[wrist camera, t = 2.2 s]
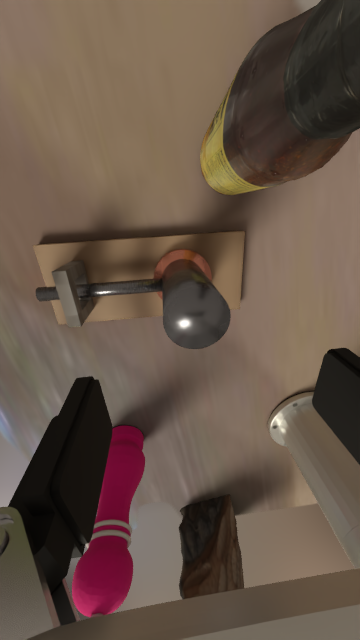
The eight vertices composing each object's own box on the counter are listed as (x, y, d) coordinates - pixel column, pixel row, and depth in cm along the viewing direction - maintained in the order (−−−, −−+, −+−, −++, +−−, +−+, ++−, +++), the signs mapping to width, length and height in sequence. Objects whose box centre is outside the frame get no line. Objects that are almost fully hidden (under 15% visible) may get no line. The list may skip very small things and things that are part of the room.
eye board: (241, 230, 25) (264, 234, 19) (236, 305, 29) (255, 326, 23) (38, 244, 24) (1, 252, 18) (62, 320, 27) (38, 346, 22)
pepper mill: (103, 451, 38) (54, 660, 20) (102, 422, 35) (42, 637, 17) (145, 451, 39) (133, 651, 21) (147, 422, 36) (135, 627, 18)
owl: (229, 523, 53) (265, 681, 35) (177, 530, 52) (186, 695, 34) (232, 493, 48) (276, 663, 30) (174, 501, 47) (183, 679, 29)
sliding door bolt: (209, 246, 24) (246, 269, 14) (209, 301, 27) (240, 354, 17) (39, 258, 23) (-55, 292, 13) (57, 314, 26) (-8, 378, 16)
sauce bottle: (247, 105, 20) (966, -795, 2) (267, 177, 23) (669, 37, 5) (183, 144, 21) (325, -280, 3) (209, 209, 24) (368, 192, 6)
